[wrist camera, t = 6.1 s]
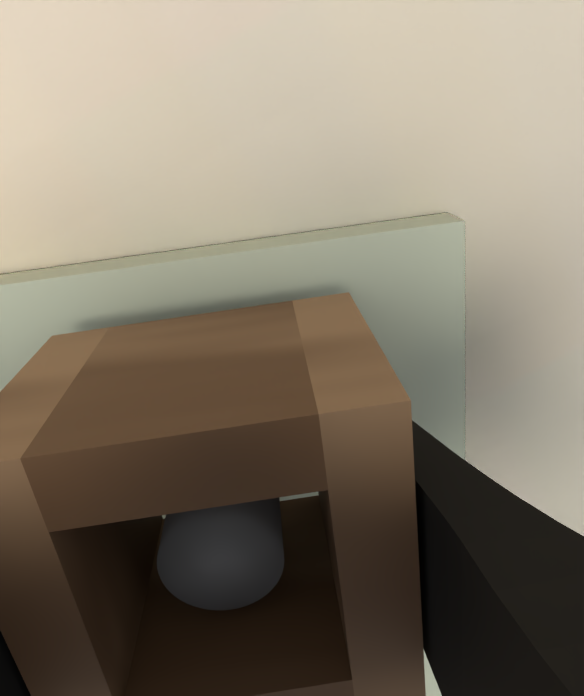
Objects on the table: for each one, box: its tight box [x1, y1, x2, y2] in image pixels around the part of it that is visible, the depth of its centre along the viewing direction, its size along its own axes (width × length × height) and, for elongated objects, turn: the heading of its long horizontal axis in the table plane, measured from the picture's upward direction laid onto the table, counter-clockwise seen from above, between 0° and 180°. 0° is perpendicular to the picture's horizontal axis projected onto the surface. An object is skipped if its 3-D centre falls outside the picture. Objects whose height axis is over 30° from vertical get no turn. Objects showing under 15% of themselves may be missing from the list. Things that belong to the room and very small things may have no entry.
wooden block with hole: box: [0, 292, 426, 696], centre depth 9 cm, size 5×5×4 cm
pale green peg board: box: [0, 213, 465, 696], centre depth 11 cm, size 14×10×5 cm
